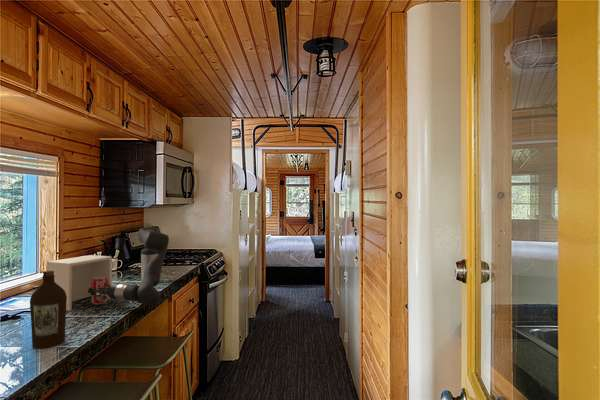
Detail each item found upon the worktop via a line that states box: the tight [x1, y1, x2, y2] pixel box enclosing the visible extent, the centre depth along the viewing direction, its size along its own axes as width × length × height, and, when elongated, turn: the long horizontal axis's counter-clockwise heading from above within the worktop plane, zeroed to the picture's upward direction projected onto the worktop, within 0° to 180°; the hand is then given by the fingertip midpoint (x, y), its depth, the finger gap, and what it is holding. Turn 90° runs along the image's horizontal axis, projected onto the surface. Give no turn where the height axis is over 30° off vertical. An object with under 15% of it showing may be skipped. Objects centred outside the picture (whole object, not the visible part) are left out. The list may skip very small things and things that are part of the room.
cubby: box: [46, 254, 113, 312], centre depth 180 cm, size 15×22×21 cm
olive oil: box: [29, 270, 67, 349], centre depth 129 cm, size 11×11×25 cm
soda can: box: [90, 276, 109, 305], centre depth 175 cm, size 7×7×12 cm
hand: (96, 288), depth 176 cm, fingers closed on soda can, 7 cm apart
